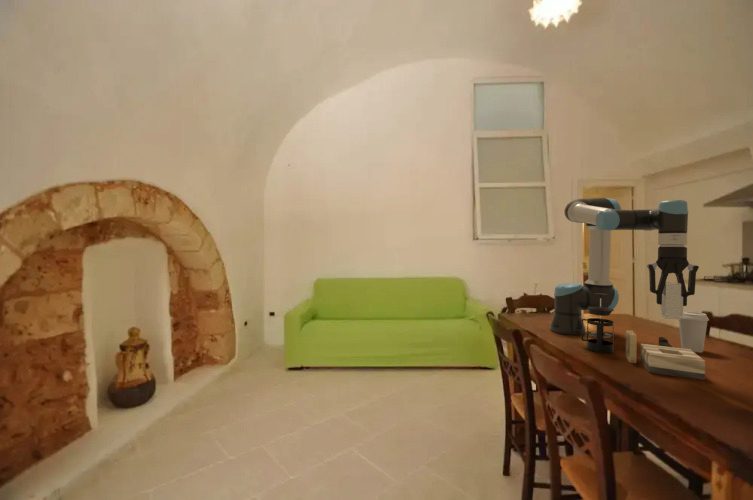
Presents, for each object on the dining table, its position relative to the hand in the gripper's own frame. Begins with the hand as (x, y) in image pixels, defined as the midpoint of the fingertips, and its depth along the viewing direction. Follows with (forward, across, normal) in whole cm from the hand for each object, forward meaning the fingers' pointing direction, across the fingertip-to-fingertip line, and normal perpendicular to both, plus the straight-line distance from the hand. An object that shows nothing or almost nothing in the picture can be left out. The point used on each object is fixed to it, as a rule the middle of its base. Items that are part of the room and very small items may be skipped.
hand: (671, 314), depth 117 cm
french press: (+19, -20, +14) cm, 31 cm away
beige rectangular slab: (+19, -10, +6) cm, 22 cm away
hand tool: (+19, +4, +23) cm, 30 cm away
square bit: (+1, 0, 0) cm, 1 cm away
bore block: (+19, 0, 0) cm, 19 cm away
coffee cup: (+19, +14, +32) cm, 40 cm away
